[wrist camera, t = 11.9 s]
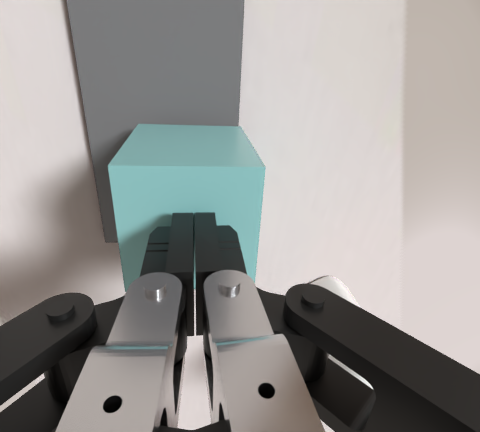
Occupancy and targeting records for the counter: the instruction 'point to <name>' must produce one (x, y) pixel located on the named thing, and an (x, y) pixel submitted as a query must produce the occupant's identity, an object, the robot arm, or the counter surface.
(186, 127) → the teal rectangular block
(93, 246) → the counter surface
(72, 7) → the mat
